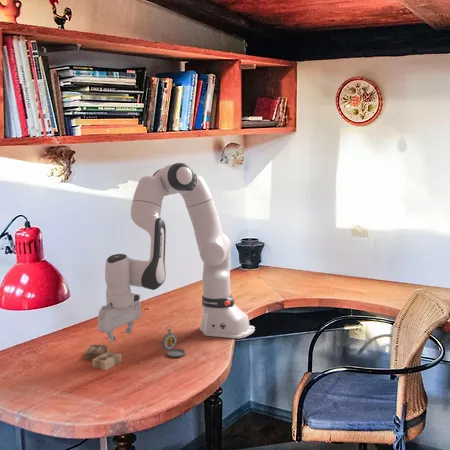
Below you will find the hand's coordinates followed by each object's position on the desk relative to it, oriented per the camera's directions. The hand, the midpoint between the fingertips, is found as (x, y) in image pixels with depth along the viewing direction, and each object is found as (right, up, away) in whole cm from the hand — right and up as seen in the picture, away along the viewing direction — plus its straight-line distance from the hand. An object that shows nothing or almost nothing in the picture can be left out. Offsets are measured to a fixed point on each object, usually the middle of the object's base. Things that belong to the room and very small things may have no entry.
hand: (120, 337), depth 223 cm
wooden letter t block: (-2, -7, -2) cm, 7 cm away
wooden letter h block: (-9, -6, +7) cm, 13 cm away
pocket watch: (+19, -7, +3) cm, 21 cm away
